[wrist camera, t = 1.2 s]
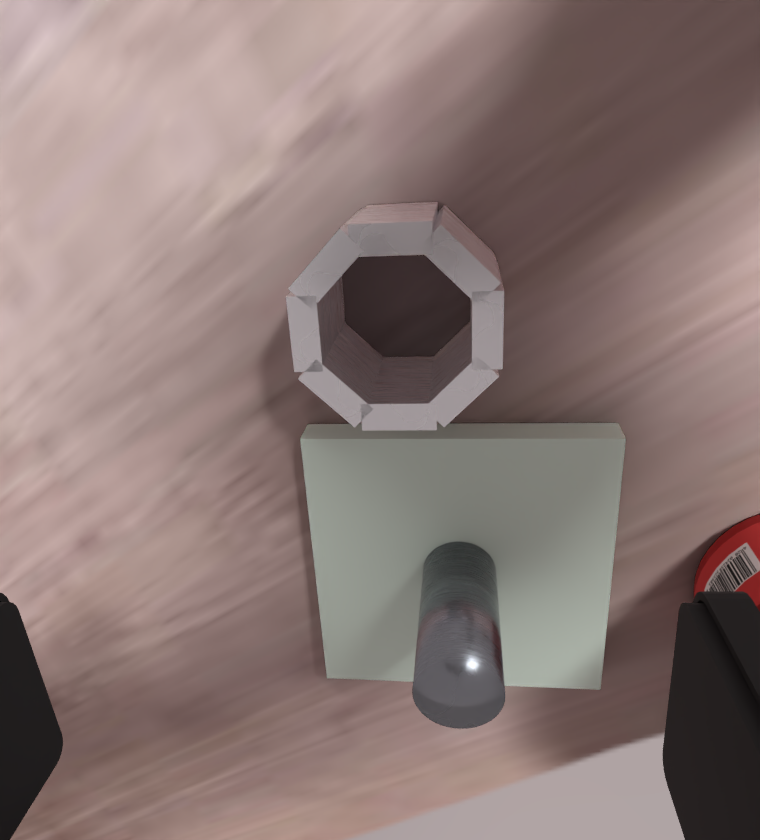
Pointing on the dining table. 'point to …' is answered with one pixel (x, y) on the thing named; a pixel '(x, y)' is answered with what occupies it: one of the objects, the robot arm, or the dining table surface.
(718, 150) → the dining table surface
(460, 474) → the green board
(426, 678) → the steel post
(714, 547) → the canned food
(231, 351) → the dining table surface
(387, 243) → the metal ring
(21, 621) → the robot arm
